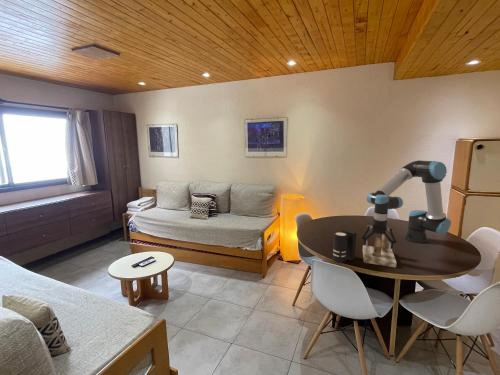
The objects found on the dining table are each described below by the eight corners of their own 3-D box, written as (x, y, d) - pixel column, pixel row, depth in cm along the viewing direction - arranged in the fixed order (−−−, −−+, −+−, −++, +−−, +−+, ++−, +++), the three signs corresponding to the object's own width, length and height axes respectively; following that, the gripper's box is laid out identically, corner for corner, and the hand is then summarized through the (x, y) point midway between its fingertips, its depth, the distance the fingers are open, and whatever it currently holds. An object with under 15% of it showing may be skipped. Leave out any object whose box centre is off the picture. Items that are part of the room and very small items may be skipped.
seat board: (391, 253, 173) (393, 233, 171) (396, 267, 153) (398, 245, 151) (362, 249, 180) (364, 230, 178) (363, 262, 160) (365, 241, 158)
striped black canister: (328, 258, 165) (330, 232, 162) (342, 253, 172) (343, 228, 169) (341, 264, 157) (343, 237, 154) (355, 259, 164) (356, 233, 161)
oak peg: (380, 261, 161) (382, 240, 159) (373, 260, 163) (375, 239, 161) (380, 258, 165) (381, 238, 163) (372, 257, 167) (374, 237, 165)
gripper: (401, 219, 158) (398, 251, 162) (358, 215, 168) (356, 246, 171) (403, 223, 152) (400, 256, 155) (359, 218, 161) (356, 250, 164)
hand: (377, 251), depth 163 cm, fingers open, 13 cm apart
